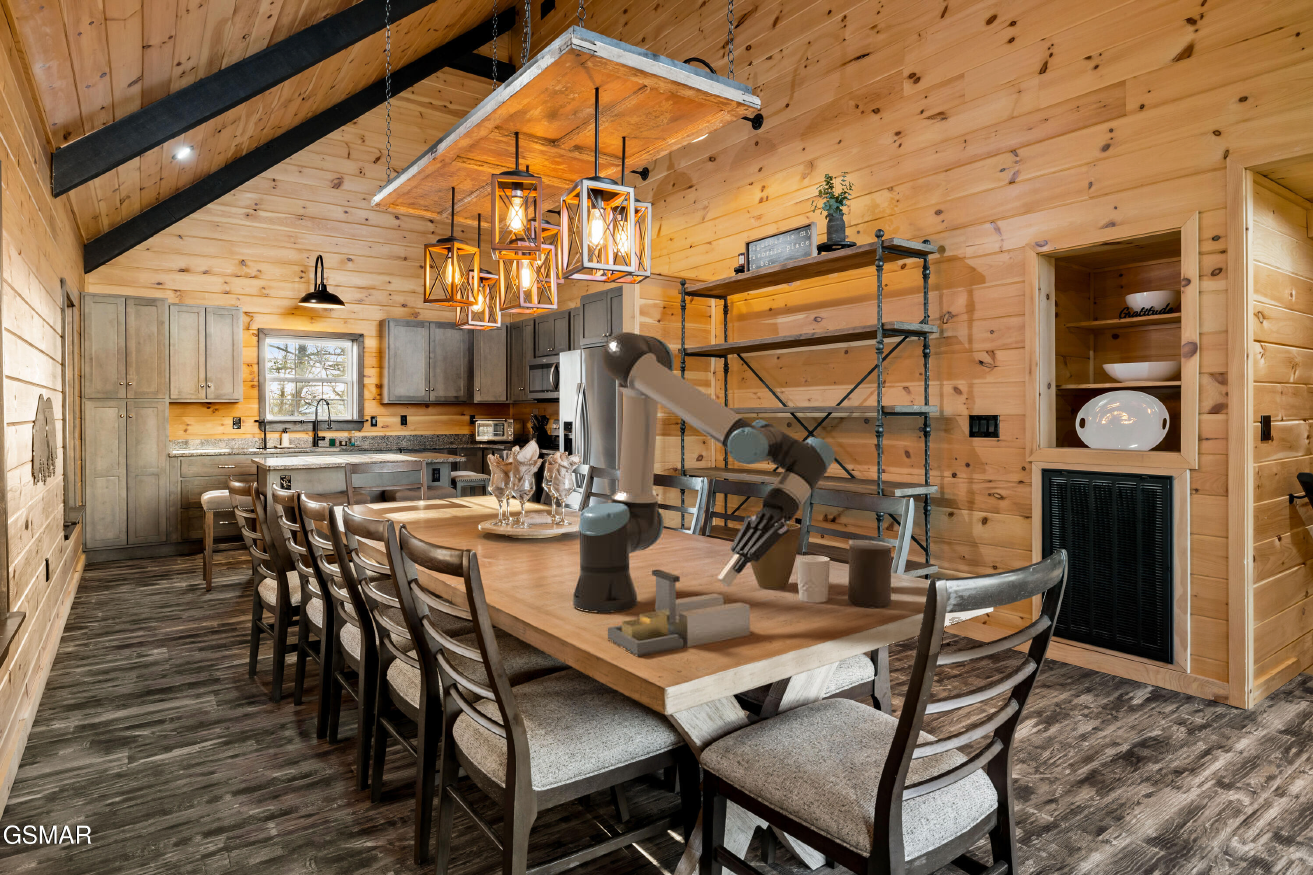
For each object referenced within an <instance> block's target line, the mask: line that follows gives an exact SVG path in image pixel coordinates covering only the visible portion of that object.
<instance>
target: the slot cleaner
mask: <svg viewBox="0 0 1313 875" xmlns="http://www.w3.org/2000/svg"><path fill="white" fill-rule="evenodd" d="M651 576H653V577H655V611H658V612H661V613H663V614H665V615H667V616H668V622H673V621H676V600H677V598H676V597H677V596H676V595H677V594H676V589H677V588H676V583H679V582H680V581H681V580H680V576H679V575H677V574H673V573H671V572H667V571H664V570H662V569H658V568H657V569H652V570H651Z"/></svg>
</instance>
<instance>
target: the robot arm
mask: <svg viewBox="0 0 1313 875" xmlns="http://www.w3.org/2000/svg"><path fill="white" fill-rule="evenodd" d="M601 354H602V355H601V360H602V365H603V368H604V369H605V371H606V373H607V374H608V375H609V376H611V378H613V379H614V380H616V381H617V382H618V389H619V391H620V392H621V393H622V394H623V396H624V399H623V416H622V417H623V418H622V431H621V448H620V461H619V462H620V465H619V477H618V478H619V480H618V490H617V491H616V492H615V494H613V495H612V496H611V502H606V503H600V504H593V505H590V506H588V507H586V508H584V509H582V511H581V512H580V515H579V524H578V530H579V567H580V568H579V571H580V573H579V576H578V580H577V582H576V586H575V589H574V592H573V595H572V606H573V605H574V606H575V607H577V608H580V609H583V610H588V611H597V612H596V613H598V612H606V613H612V612H611V611H618V612H623V611H628V610H632V609H634V608H635V607H637V606H638V594H637V591H636V588H635V584H634V581H633V578H632V575H631V572H630V554H633V553H636V552H640V551H645V550H647V549H649V548H650V547H651V546H653V545H654V544H656V543H657V542H658V541H659V539H660V538H661V536H662V534H663V531H664V526H665V524H664V523H665V522H664V517H663V515H662V513H661V512H660V509H659V508H658V506H659V498H658V497H657V496H656V495H655V494H654V492H653V491H654V490H653V489H654V473H655V461H656V459H655V458H656V443H657V442H656V441H657V426H658V415H659V413H658V412H659V411H658V410H659V405H661V406H662V407H663V408H665V409H667V410H668V411H670V412H671V413H673V414H674V415H676V416H678V417H679V418H680V419H682V420H683V421H685V422H686V423H687V424H688V425H691V426H692V427H693V428H695V429H697V431H699V432H701V433H702V434H704V436H707V437H708V438H710V439H711V440H713V441H714V442H716V443H717V444H719V445H720V446H721V447H723V448H724V449H726V450H727V451H728V453H729V456H730V457H731V458H732V459H733V460H734V461H735V462H737V463H738V464H743V465H755V464H758V463H764V462H769V463H771V464H773V465H776V466H777V467H778V468H779V469H782V470H783V472H782V473H781V474H780V476H779V477H778V478H777V479H776V481H775V482H774V483H773V485H772V488H770V489H769V490H768V492H767V493H766V495H765V496H764V497H763V498H762V508H761V509H759V510H758V511H757V512H756V514H755V515H754V516H750V515H749V514H747V515H746V516H745V517H744V521H743V524H742V526H741V528H740V529H739V531H738V532H737V533H738V534H736V536H735V539H734V541H733V543H732V544H731V546H730V548H729V549H730V551H731V552H732V553H733V555H732V556H731V558H730V559H729V561H727V563H726V565H725V567H724V569H722V571H721V573H720V574H718V576H717V579H718V580H719V581H720V582H721V584H722V585H723V586H724V587H727V588H730V587H731V586H732V584H733V583H734V581H735V580H736V579H737V577H738V576H739V575H741V573H742V572H743V570H744V569H745V568H746V566H747V565H748V564H751V563H750V562H751V561H755V562H757V561H759V560H760V559H761V557H762V556H763V555H764V554H765V553H766V552H767V551H768V550H769V549H770V548H771V547H772V546H773V545H774V544H775V543H776V542H777V541H778V540H779V539H780V538H781V537H782V536H784V535H785V534H787V533H788V532H789V528H788V527H787V526H786V525H785V523H789V522H790V521H792V520H793V518H794V517H795V515H797V513H798V512H799V510H800V508H801V507H802V506H803V505H804V503H805V501H806V500H807V499H808V497H809V496H810V495H811V493H812V492H813V491H814V489H815V488H816V486H818V484H819V483H820V481H821V480H822V479H823V477H824V476H825V475H826V474H827V472H828V470H829V468H830V467H831V465H832V463H833V462H834V460H835V458H836V454H835V450H834V449H833V447H832V446H831V445H830V444H829V443H828V442H826V440H824V439H822V438H818V437H815V436H812V437H809V438H807V440H805V441H803V440H799V439H797V438H795V437H794V436H792V435H790V434H789V433H786V432H785V431H784V430H782V429H780V428H778V427H776V426H775V425H774V424H772V423H769V422H766V421H765V420H763V419H757V420H755V421H754V422H753V423H751V422H749V421H748V420H747V419H744V418H743V417H742V416H741V415H739V414H737V413H736V412H734V411H733V410H732V409H730V408H728V407H726V406H725V405H724V404H722V403H720V402H719V401H718V400H716V399H714V398H713V397H712V396H710V395H708V394H707V393H705V392H704V391H702V390H701V389H699V388H697V387H696V386H695V385H694V384H691V383H690V382H688V381H687V380H685V379H684V378H682V377H681V376H680V375H678V374H676V373H675V372H674V369H675V358H674V353H673V351H672V349H671V347H670V346H669V345H668V344H667V343H666V342H665V341H663V340H661V339H659V338H657V337H655V336H649V335H644V334H638V333H634V332H631V331H630V332H629V331H627V332H625V331H624V332H623V331H622V332H620V333H617V334H615V335H613V336H611V337H610V338H609V339H608V340H607V342H606V343H605V344H604V347H603V348H602V353H601ZM756 554H757V555H756Z"/></svg>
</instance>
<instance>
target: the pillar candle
mask: <svg viewBox="0 0 1313 875" xmlns="http://www.w3.org/2000/svg"><path fill="white" fill-rule="evenodd" d="M868 541H869V543H863V542H858V543H851V544H849V543H848V546H849V547H848V593H847V594H848V595H847V596H848V597H847V599H848V602H849V604H851V605H854V606H857V607H865V608H869V607H881V608H887V607H886V606H888V607H890V606H891V605H892V548H891V546H890V545H891V544H890V545H886V544H879V543H870V541H871V539H868ZM890 604H891V605H890ZM889 605H890V606H889Z"/></svg>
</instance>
